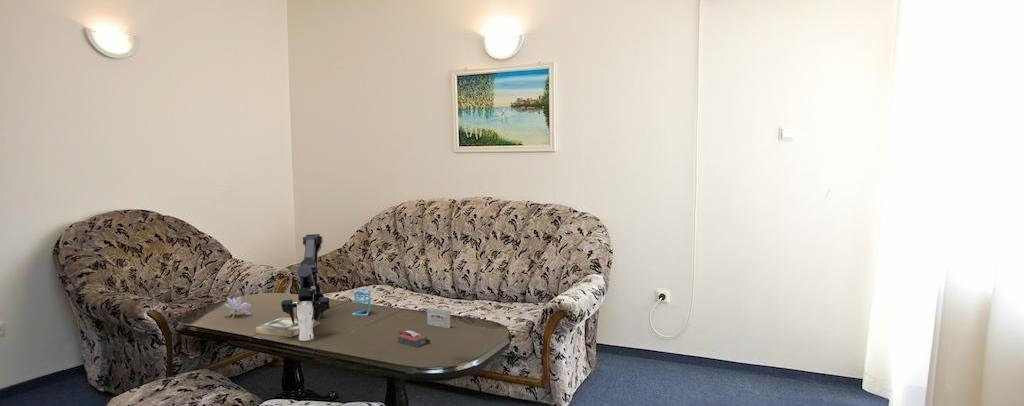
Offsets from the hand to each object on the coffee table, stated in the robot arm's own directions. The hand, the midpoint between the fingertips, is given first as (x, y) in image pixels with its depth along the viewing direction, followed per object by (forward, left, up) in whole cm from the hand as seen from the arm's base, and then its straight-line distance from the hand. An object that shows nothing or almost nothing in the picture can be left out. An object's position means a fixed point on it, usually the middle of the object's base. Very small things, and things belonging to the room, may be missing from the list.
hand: (305, 322), depth 240 cm
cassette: (-53, +13, -7) cm, 55 cm away
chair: (-31, -25, -7) cm, 41 cm away
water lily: (+19, -53, -7) cm, 57 cm away
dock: (+3, -20, -7) cm, 21 cm away
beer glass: (0, -1, -7) cm, 7 cm away
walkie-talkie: (-35, +24, -8) cm, 43 cm away
